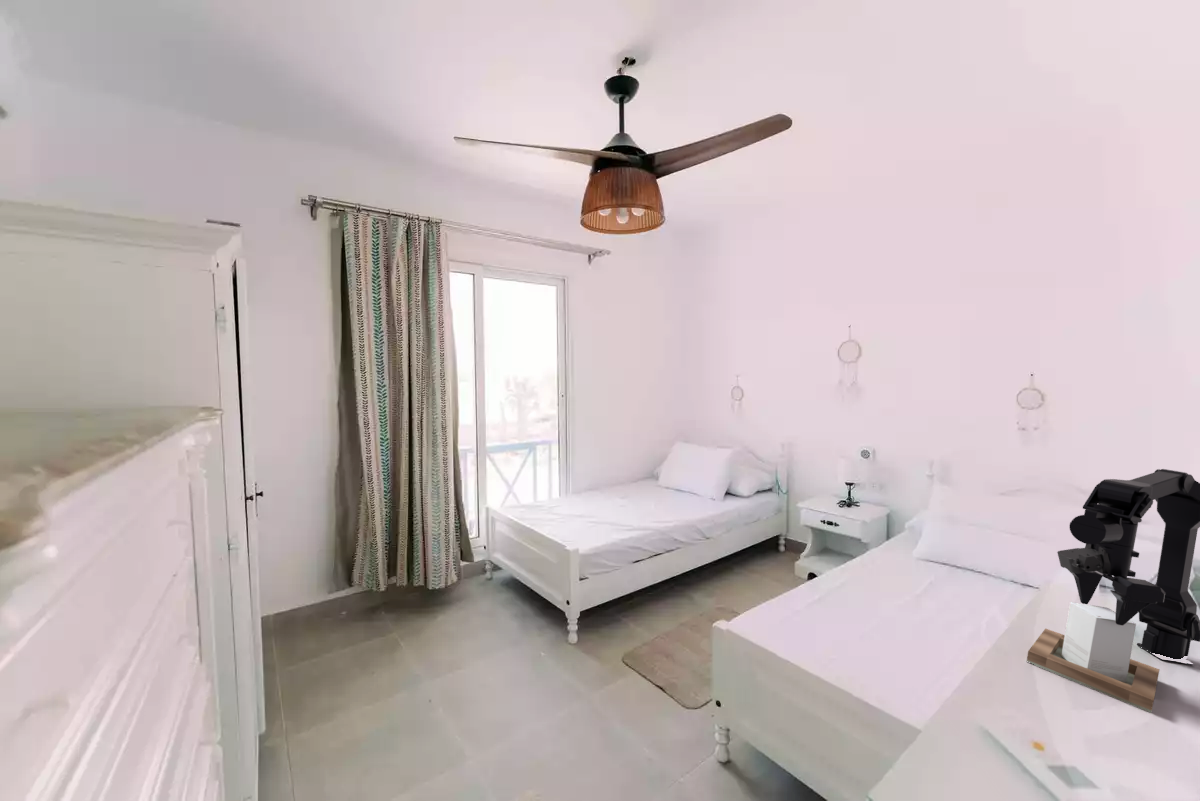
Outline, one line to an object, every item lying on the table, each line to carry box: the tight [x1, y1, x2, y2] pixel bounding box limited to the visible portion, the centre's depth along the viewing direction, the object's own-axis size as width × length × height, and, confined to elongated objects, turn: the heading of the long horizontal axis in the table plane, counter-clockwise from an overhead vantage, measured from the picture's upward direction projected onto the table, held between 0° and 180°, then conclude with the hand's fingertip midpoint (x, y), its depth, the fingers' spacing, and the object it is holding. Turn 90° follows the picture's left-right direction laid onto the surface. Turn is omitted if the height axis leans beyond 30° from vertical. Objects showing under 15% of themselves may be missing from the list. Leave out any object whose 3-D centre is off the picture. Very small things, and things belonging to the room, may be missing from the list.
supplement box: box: [1061, 601, 1137, 682], centre depth 103 cm, size 7×7×13 cm
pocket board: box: [1026, 628, 1160, 714], centre depth 104 cm, size 18×18×2 cm
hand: (1100, 613), depth 103 cm, fingers open, 9 cm apart
